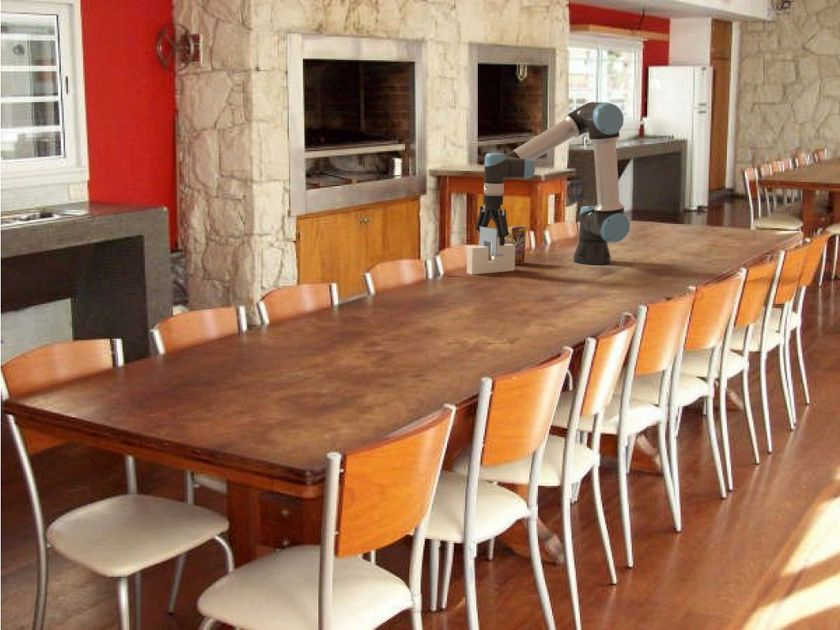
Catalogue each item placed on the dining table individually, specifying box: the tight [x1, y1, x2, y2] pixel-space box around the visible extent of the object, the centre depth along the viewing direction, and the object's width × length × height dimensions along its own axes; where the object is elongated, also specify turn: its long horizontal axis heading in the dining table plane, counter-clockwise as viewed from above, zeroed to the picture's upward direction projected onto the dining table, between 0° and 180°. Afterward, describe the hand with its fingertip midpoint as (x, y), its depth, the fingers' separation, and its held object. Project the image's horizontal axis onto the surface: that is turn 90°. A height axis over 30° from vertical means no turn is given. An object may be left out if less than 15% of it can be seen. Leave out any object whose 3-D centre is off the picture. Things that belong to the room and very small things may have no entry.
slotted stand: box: [466, 244, 516, 275], centre depth 418 cm, size 20×4×10 cm, turn 122°
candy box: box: [505, 224, 527, 265], centre depth 436 cm, size 9×4×15 cm, turn 134°
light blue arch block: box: [478, 225, 503, 257], centre depth 417 cm, size 11×4×10 cm, turn 32°
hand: (491, 251), depth 417 cm, fingers closed on light blue arch block, 11 cm apart
